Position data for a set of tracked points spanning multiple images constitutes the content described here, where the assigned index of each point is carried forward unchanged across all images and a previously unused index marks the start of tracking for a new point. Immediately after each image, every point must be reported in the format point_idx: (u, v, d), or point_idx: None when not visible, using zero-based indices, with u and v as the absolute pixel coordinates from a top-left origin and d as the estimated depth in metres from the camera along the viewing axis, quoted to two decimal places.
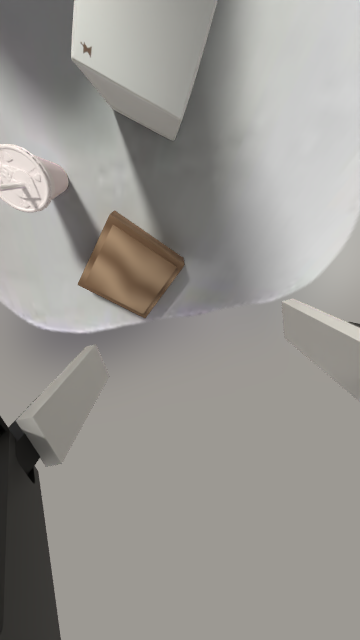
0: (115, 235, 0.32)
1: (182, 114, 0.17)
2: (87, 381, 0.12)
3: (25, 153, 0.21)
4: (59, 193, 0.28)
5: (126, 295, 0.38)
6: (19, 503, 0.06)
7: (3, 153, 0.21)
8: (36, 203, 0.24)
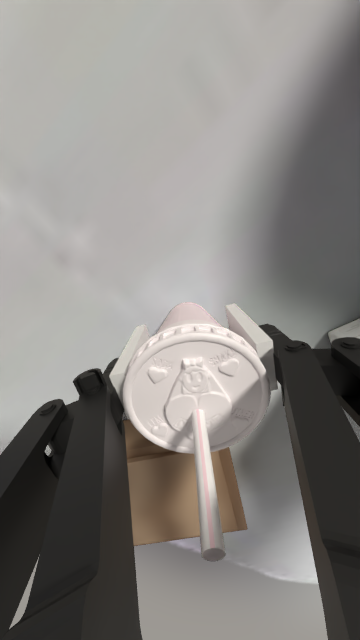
0: None
1: None
2: None
3: (268, 388, 0.08)
4: None
5: None
6: (112, 452, 0.07)
7: (228, 356, 0.08)
8: (182, 441, 0.09)
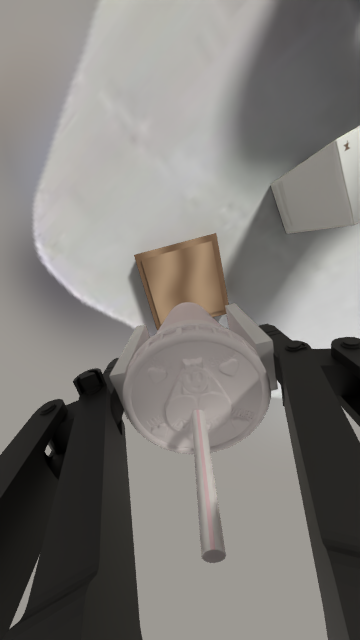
0: (205, 249, 0.33)
1: (356, 223, 0.22)
2: None
3: (269, 389, 0.08)
4: None
5: (164, 298, 0.36)
6: (111, 452, 0.07)
7: (228, 356, 0.08)
8: (182, 441, 0.09)
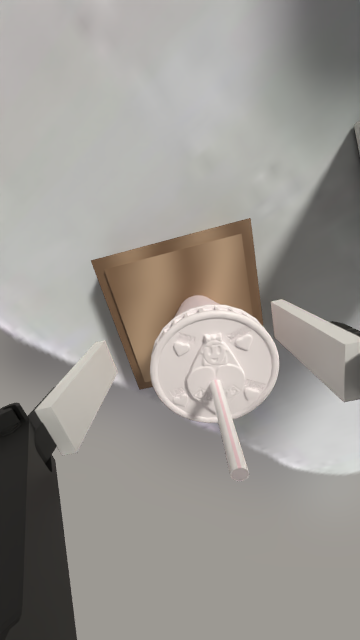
0: (229, 249, 0.17)
1: None
2: (98, 375, 0.13)
3: (277, 362, 0.10)
4: None
5: (150, 339, 0.20)
6: (37, 491, 0.06)
7: (243, 332, 0.09)
8: (200, 411, 0.11)
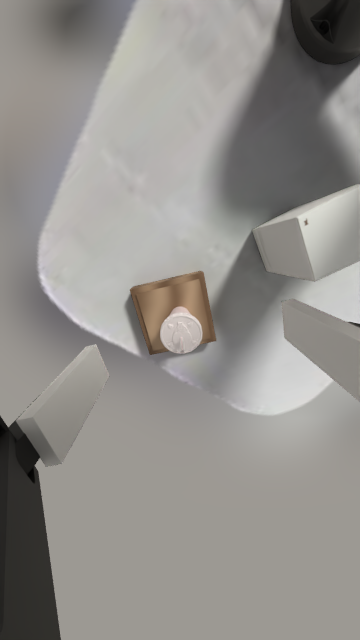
0: (194, 286, 0.37)
1: None
2: (87, 381, 0.12)
3: (201, 331, 0.30)
4: None
5: (156, 327, 0.40)
6: (19, 503, 0.06)
7: (190, 321, 0.29)
8: (176, 349, 0.31)
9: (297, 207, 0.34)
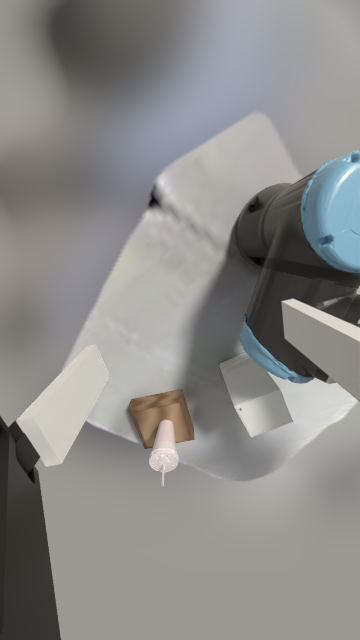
0: (175, 407, 0.51)
1: (252, 436, 0.40)
2: (87, 381, 0.12)
3: (177, 460, 0.43)
4: None
5: (149, 432, 0.53)
6: (19, 503, 0.06)
7: (169, 454, 0.43)
8: (161, 469, 0.44)
9: (248, 359, 0.47)
